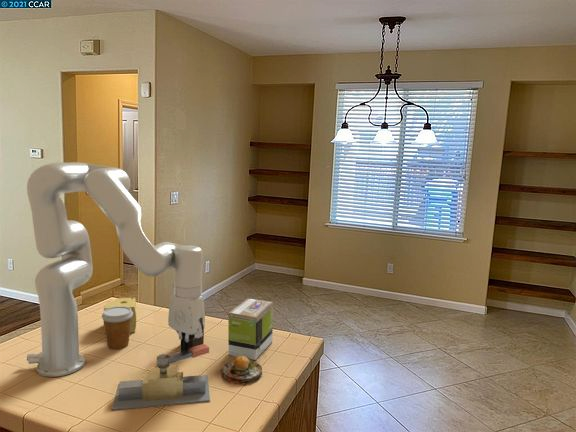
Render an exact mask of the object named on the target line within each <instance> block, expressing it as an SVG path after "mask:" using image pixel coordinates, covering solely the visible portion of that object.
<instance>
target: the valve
mask: <svg viewBox="0 0 576 432" xmlns="http://www.w3.org/2000/svg"><path fill="white" fill-rule="evenodd" d="M205 375H206V374H202V375H199V374H198V375H187V376H185V375H184V371H178V365H173V366H169V367H167V368H163V369H161V368H158V367H157V366H156V367H150V370H149V373H148V374H147V373H146V374H143V379H135V380H134V379H133V380H121V381H119V384H118V387H119V388H118V387H117V391H118V397H119V401H120V400H132V399H142V400H149V401H156V400H168V399H177V397H183V395H190V394H202V393H206V378H205Z"/></svg>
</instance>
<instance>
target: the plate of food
mask: <svg viewBox="0 0 576 432" xmlns="http://www.w3.org/2000/svg"><path fill="white" fill-rule="evenodd" d="M262 375H263V368H262V366H261V365H260V363H258V362H256V361H255V360H251V359H248V358H247V357H245V356H242V355H241V356H238V357H237V356H236V357H235V359H234V360H233V361H229V362H226V363H225V364H224V365H223V366H222V369H221V377H222V379H225V380H227V381H228V382H229V383H232V384H235V383H236V384H237V385H247V384H248V385H249V384H252V383H255V382H257V381H259V380H260V379H261V378H262Z"/></svg>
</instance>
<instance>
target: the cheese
mask: <svg viewBox="0 0 576 432" xmlns="http://www.w3.org/2000/svg"><path fill="white" fill-rule="evenodd" d="M136 301H137V300H136V297H121V298H116V299H115V300H112V301H108V302H107V301H106V303H105V304H104V306H103V311H104V310H106V309H108V308H111V307H117V306H125V307H129V308H131V310H132V312H133V315H132V317H131V326H130V334H132V333H136V328H137V309H136V308H137V307H136V306H137V305H136V304H137V302H136ZM102 320H103V319H102ZM102 322H104V320H103V321H102ZM103 331H104V335H105V336H106V332H105V326H104V325H103Z"/></svg>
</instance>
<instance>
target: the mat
mask: <svg viewBox="0 0 576 432" xmlns="http://www.w3.org/2000/svg"><path fill="white" fill-rule="evenodd" d="M204 375H205V378H206V393H202V394H190V395H183V397H177V399H168V400H156V401H149V400H142V399H132V400H120V401H119V397H118V390H117V391H116V395H115V398H114V402H113V405H112V409H111V410H112V411H118V410H130V409H140V408H153V407H163V406H175V405H184V404H185V405H186V404H198V403H207V402H210V401H211V397H210V396H211V395H210V386H209V375H208V374H204ZM118 388H119V386H118V387H117V389H118Z"/></svg>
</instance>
